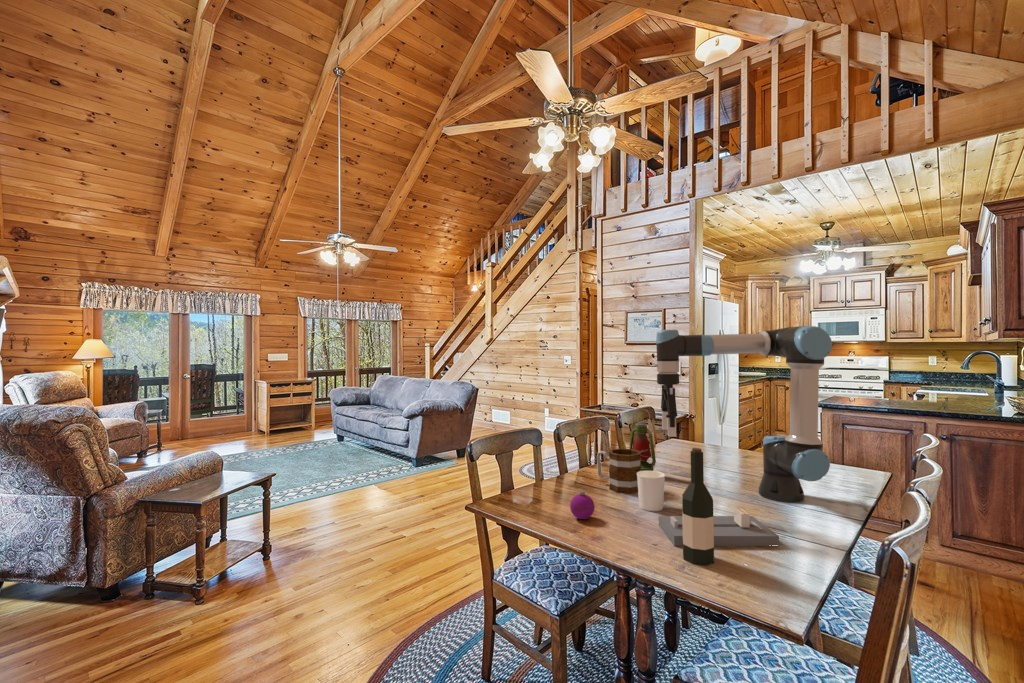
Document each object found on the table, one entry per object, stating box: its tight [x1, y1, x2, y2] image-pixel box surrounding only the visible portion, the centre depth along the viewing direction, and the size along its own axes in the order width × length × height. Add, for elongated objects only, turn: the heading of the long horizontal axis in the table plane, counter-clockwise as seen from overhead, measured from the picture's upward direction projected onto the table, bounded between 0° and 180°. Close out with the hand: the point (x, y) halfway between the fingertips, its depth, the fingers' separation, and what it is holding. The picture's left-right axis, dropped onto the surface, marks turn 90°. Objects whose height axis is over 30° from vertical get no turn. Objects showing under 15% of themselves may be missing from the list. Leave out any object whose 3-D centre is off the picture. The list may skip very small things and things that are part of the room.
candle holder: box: [637, 470, 666, 512], centre depth 170 cm, size 10×10×12 cm
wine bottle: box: [681, 447, 715, 567], centre depth 129 cm, size 8×8×30 cm
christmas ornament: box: [569, 488, 595, 520], centre depth 160 cm, size 8×8×10 cm
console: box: [658, 515, 780, 547], centre depth 145 cm, size 30×16×5 cm, turn 88°
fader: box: [733, 507, 750, 527], centre depth 145 cm, size 2×5×4 cm, turn 178°
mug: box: [596, 447, 641, 495], centre depth 195 cm, size 20×14×15 cm
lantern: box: [628, 407, 657, 471], centre depth 212 cm, size 14×11×30 cm
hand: (668, 432), depth 168 cm, fingers open, 13 cm apart
